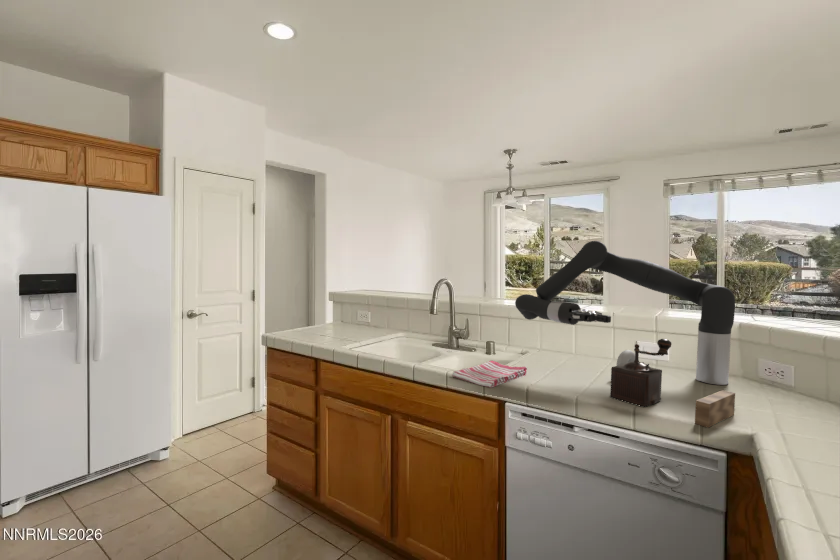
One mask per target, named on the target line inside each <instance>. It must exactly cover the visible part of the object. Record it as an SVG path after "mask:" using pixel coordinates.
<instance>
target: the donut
mask: <svg viewBox="0 0 840 560" xmlns="http://www.w3.org/2000/svg"><path fill="white" fill-rule="evenodd" d="M616 360H617V361H616V365H615V366H618V365H623V364H626V363H629V362H633V361H634V360H635V351H634V350H633V351H632V349H625V350H623V351H621V352H620V353H619V355H618V356H617V359H616Z"/></svg>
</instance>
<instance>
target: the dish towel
mask: <svg viewBox="0 0 840 560" xmlns="http://www.w3.org/2000/svg"><path fill="white" fill-rule="evenodd" d="M527 368H528V367H526V366H509V365H504V364H502V363H500V362H497V361H495V360H489V361H486V362H483V363H481V364H479V365H477V364H476V365H474V366H471V367H464V368H462V369H459V370H455V371H453V372H452V373H451V376H452V377H454V378H456V379H459V380H462V381H466V382H469V383H471V384H475V385H478V386H483V387H486V388H489V389H491V388H494V387H497V386H499V385H503V384H504V383H506V382H511V381H513V380H516V379H520V378H523V377H525V376H526V375H527V370H528V369H527Z"/></svg>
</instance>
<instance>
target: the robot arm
mask: <svg viewBox="0 0 840 560" xmlns="http://www.w3.org/2000/svg"><path fill="white" fill-rule="evenodd" d="M589 269H591V270H592V269H593V270H597V271H601V272H605V273H608V274H612V275H614V276H617V277H619V278H621V279H623V280H626V281H629V282H631V283H633V284H636V285H638V286H641V287H644V288H646V289H648V290H652V291H655V292H658V293H662V294H666V295H670V296H675V297H679V298H681V299H684V300H687V301H689V302H691V303H693V304H695V305H697V306H699V307H701V312H700V321H699V323H698V326H697V327H698V328H697V329H698V330H697V345H696V346H697V347H696V349H697V350H696V371H695V379H696V381H699V382H702V383H705V384H706V383H707V384H711V385H718V386H720V385H721V386H726V385H729V379H730V378H729V377H730V376H729V375H730V374H729V373H730V362H731V361H730V358H731V344H732V343H731V338H732V328H733V326H734V322H735V310H736V297H735V294H734V293H733V291H732V290H731V289H729V288H728V287H726V286H724V285H723V286H722V285H717V284H711V283H707V282H702V281H699V280H696V279H692V278H689V277H687V276H684V275H682V274H681V273H679V272H676V271H675V270H673V269H670V268H668V267H666V266H663V265H661V264H657V263H655V262H652V261H648V260H645V259H638V258H630V257H624V256H619V255H617V254H614V253H612V252H610V251H608V249H607V246H606V245H605V243H603V242H601V241H599V240H591V241H589V242H586V243H585V244H584V245H583V247H581V249H580V250H579V251H578V252H577V253H576V254H575V255H574V257H572V259H570V261H568V262H567V263H566V264H565V265H564V266H562V268H560V269H559V270H558V271H556V272H555V273H554V274H552V275H551V276H550V277H549V278H547V279H546V280H545V281H544V282H542V283H541V284H540V285H539V286H537V287H536V289H535V292H536V295H537V296H536V295H534V294H526V293H524V294H521V295H519V296H517V298H516V299H515V302H514V304H515V308H516V309H517V310H518V311H519V313H520V314H521V315H522V316H523V317H524V318H525V319H526V320H529V321H531V320H534V319H536V318H538V317H539V318H540V319H543V320H548V321H553V322H556V323H561V324H566V325H573V326H575V325H577V324H578V323H579V322H581V323H583V322H586V323H592V322H594V323H597V322H599V323H605V324H607V323H608V324H609V323H611V321H612V316H611V315H609V314H608V315H606V314H603V312H599V311H597V310H589V309H587V308H586V309H585V308H584V309H581V307H580V305H579V304H578V303H576V302H570V301H569V302H568V301H559V300H558V301H557V300H555V301H554V298H556V297H557V296H559V295H560V294H561V293H562V292H563V291H564V290H566V288H568V286H570V285H571V283H573V282H574V281H575V280H576V279H577V278H578V277H579V276H580V275H581V274H583V273H585V272H586V271H587V270H589Z"/></svg>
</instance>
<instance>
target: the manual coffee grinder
mask: <svg viewBox="0 0 840 560" xmlns="http://www.w3.org/2000/svg"><path fill="white" fill-rule="evenodd" d="M656 344H657V346H658V349H659V350H658V351H657V352H652V351H647V350H646V351H645V350H640V344H638V343H636V344H634V349H633V352H634V353H635V360H634V361H633V362H629V363H626V364H623V365H618V366H617V365H615V366H611V369H610V371H611V372H610V374H611V375H610V396H609V397H610V398H611V397H613V398H612V399H614V398H615V399H614V400H617V399H618V401H621V400H623V401H622V402H624V401H626V402H625V403H627V402H629V403H628V404H631V403H633V404H632V405H634V404H637V405H640V406H639V407H641V406H644V407H643V408H646V407H649V405H650V406H652V404H653V405H656V403H659V402H660V401H662V396H661V395H662V378H663V377H662V376H663V370H662V369H660V368H656V367H652V366H650V363H647V364H646V363H645V362H643V361H640V360H639V354H641V355H648V356H653V357H654V356H661V357H664V356H667V355H669V353H668V351H669V349H670V348H671V347H672V341H670V340H669V339H666V338H660V339H658V340H657V343H656ZM637 405H636V406H637ZM645 406H646V407H645Z"/></svg>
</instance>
